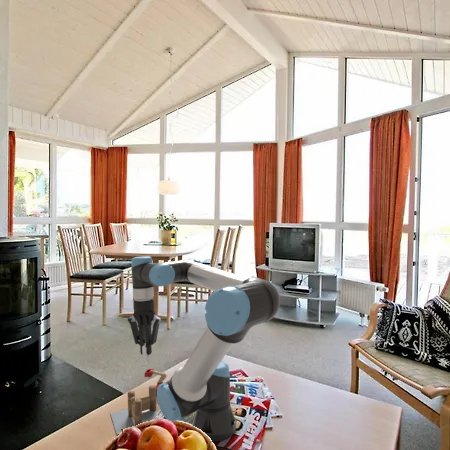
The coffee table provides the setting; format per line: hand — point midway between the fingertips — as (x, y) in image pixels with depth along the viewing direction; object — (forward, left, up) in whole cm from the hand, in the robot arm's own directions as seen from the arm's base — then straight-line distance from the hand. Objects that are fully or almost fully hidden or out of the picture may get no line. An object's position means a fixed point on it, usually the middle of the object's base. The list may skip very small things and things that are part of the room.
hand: (146, 363), depth 128 cm
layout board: (+4, +4, -21) cm, 22 cm away
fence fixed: (+6, +1, -21) cm, 22 cm away
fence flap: (+2, +4, -21) cm, 21 cm away
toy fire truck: (+18, -10, -21) cm, 29 cm away
